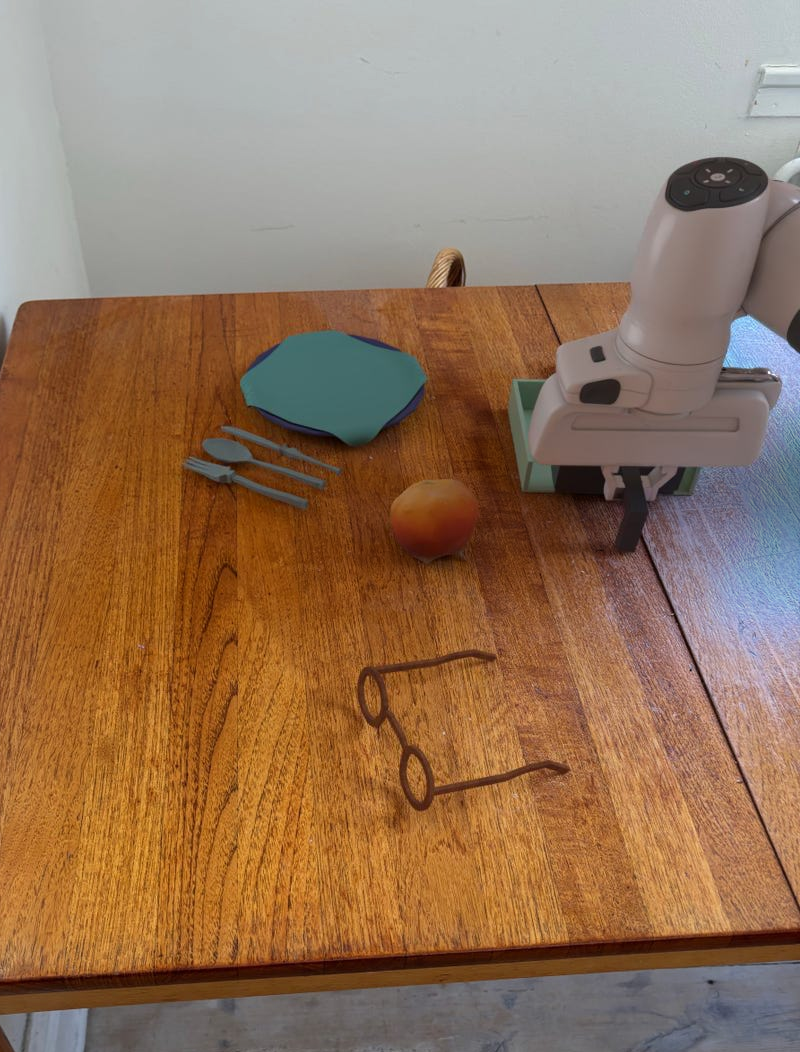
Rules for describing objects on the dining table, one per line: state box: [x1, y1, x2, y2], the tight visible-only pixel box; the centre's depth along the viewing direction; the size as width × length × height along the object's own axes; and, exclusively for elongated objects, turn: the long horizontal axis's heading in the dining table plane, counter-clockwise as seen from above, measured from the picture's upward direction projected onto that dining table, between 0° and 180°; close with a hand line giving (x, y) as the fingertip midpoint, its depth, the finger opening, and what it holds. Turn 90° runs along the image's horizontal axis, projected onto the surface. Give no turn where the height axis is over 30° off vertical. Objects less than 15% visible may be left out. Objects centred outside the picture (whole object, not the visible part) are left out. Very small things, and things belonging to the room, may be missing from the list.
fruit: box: [390, 478, 480, 567], centre depth 97 cm, size 8×8×8 cm
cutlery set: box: [181, 329, 430, 511], centre depth 112 cm, size 20×30×2 cm, turn 149°
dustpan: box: [507, 378, 703, 496], centre depth 111 cm, size 24×17×4 cm
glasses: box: [356, 648, 572, 812], centre depth 81 cm, size 13×13×5 cm
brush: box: [551, 465, 686, 553], centre depth 99 cm, size 10×12×5 cm
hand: (628, 496), depth 97 cm, fingers closed on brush
